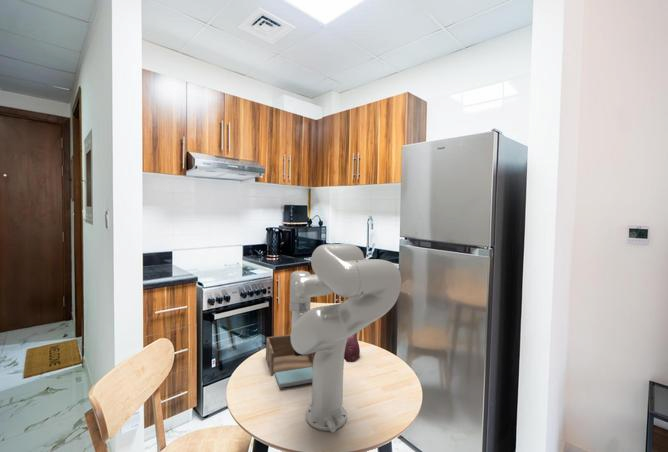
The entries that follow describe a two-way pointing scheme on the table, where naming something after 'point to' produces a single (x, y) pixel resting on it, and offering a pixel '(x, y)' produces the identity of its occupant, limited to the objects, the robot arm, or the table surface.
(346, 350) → the vegetable
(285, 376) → the light blue panel
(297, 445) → the table surface
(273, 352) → the box
